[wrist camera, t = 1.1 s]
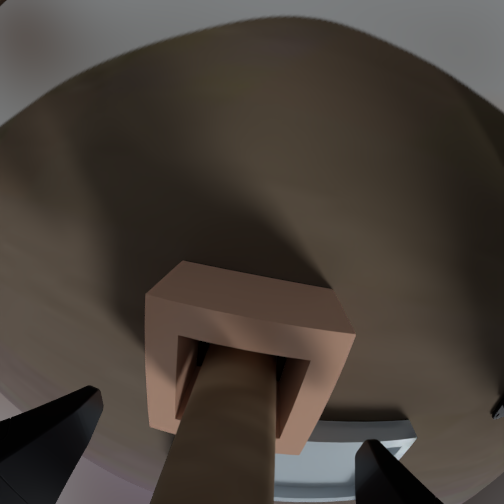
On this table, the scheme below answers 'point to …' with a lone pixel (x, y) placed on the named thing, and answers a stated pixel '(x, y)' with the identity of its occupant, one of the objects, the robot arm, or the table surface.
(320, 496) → the tray
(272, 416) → the dowel
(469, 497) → the table surface
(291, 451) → the holder
